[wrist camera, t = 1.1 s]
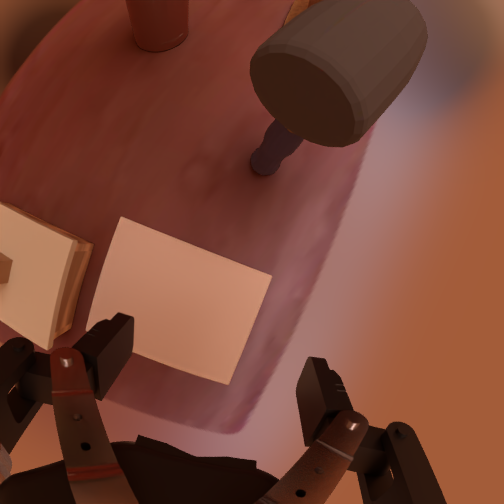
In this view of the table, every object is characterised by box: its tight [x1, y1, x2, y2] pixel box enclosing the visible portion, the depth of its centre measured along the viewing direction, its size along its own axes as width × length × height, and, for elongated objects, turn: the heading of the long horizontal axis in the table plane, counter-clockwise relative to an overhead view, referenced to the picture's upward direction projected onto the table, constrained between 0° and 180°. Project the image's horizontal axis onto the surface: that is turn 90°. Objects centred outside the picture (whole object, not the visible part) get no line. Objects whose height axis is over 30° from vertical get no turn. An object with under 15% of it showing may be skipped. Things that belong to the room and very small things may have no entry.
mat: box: [86, 217, 272, 385], centre depth 37 cm, size 22×17×1 cm
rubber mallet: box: [250, 0, 428, 175], centre depth 24 cm, size 12×8×30 cm, turn 142°
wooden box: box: [0, 201, 94, 339], centre depth 30 cm, size 18×13×7 cm
